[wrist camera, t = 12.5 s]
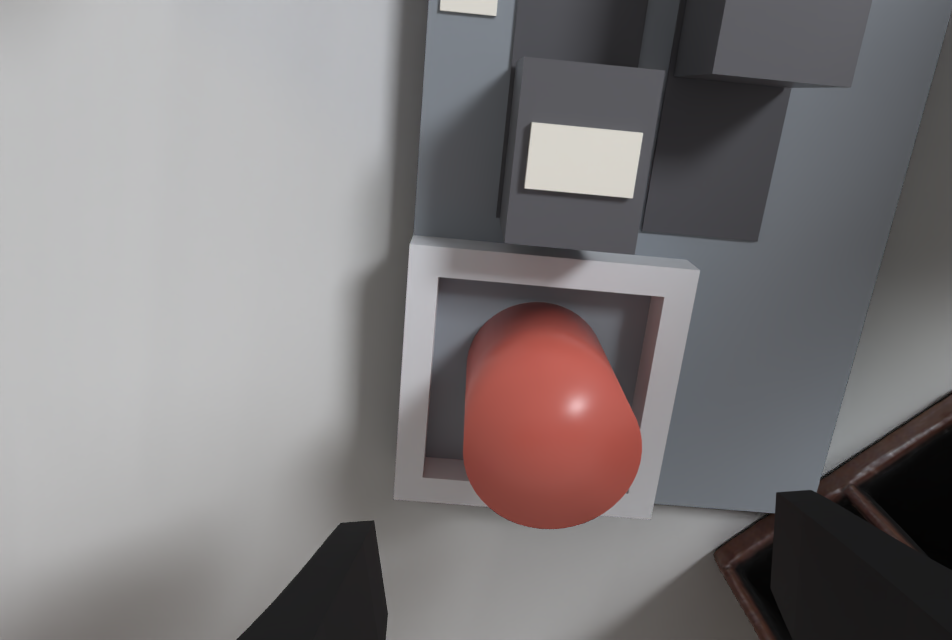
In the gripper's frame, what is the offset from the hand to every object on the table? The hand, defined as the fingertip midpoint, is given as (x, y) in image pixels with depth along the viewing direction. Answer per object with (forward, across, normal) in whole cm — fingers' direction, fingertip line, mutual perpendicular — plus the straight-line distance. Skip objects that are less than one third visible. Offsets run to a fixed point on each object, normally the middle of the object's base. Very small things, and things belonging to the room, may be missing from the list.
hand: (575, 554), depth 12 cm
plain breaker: (+8, -6, -10) cm, 14 cm away
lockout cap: (+8, 0, 0) cm, 8 cm away
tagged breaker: (+8, -1, -6) cm, 10 cm away
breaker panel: (+10, -3, -4) cm, 11 cm away
